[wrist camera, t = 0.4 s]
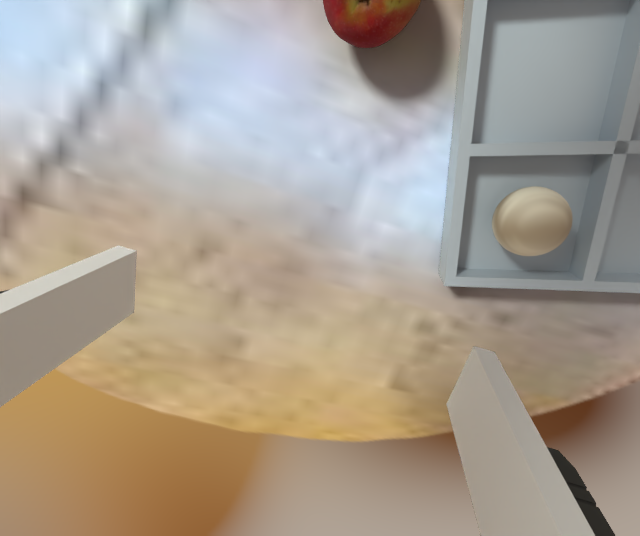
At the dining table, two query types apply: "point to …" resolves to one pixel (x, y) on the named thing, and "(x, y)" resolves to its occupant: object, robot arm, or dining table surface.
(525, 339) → the dining table surface
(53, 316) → the robot arm
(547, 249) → the wooden ball
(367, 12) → the apple
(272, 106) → the dining table surface
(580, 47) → the tray
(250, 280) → the dining table surface
